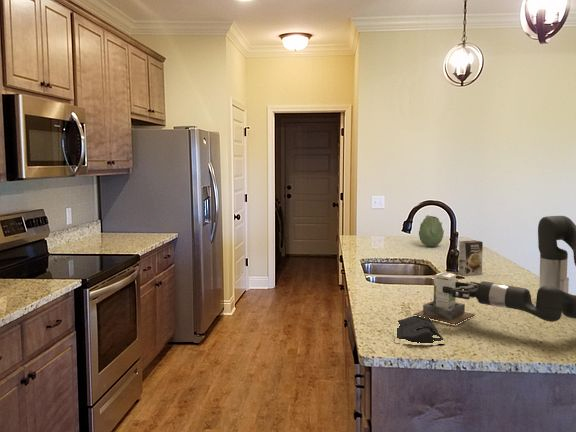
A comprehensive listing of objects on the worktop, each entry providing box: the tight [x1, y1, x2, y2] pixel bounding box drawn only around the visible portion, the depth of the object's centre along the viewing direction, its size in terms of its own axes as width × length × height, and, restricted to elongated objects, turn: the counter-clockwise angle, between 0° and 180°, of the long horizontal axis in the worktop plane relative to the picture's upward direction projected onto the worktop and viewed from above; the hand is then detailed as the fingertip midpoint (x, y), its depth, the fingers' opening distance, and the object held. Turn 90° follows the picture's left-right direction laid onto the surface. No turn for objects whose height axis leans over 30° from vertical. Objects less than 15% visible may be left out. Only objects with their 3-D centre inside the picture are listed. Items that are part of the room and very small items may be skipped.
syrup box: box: [433, 271, 457, 309], centre depth 175 cm, size 6×6×14 cm
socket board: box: [413, 300, 476, 325], centre depth 175 cm, size 16×14×4 cm
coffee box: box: [458, 239, 483, 277], centre depth 238 cm, size 9×6×16 cm
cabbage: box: [418, 215, 445, 248], centre depth 316 cm, size 16×19×20 cm
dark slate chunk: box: [397, 315, 444, 343], centre depth 159 cm, size 15×22×5 cm
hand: (449, 286), depth 173 cm, fingers open, 8 cm apart
